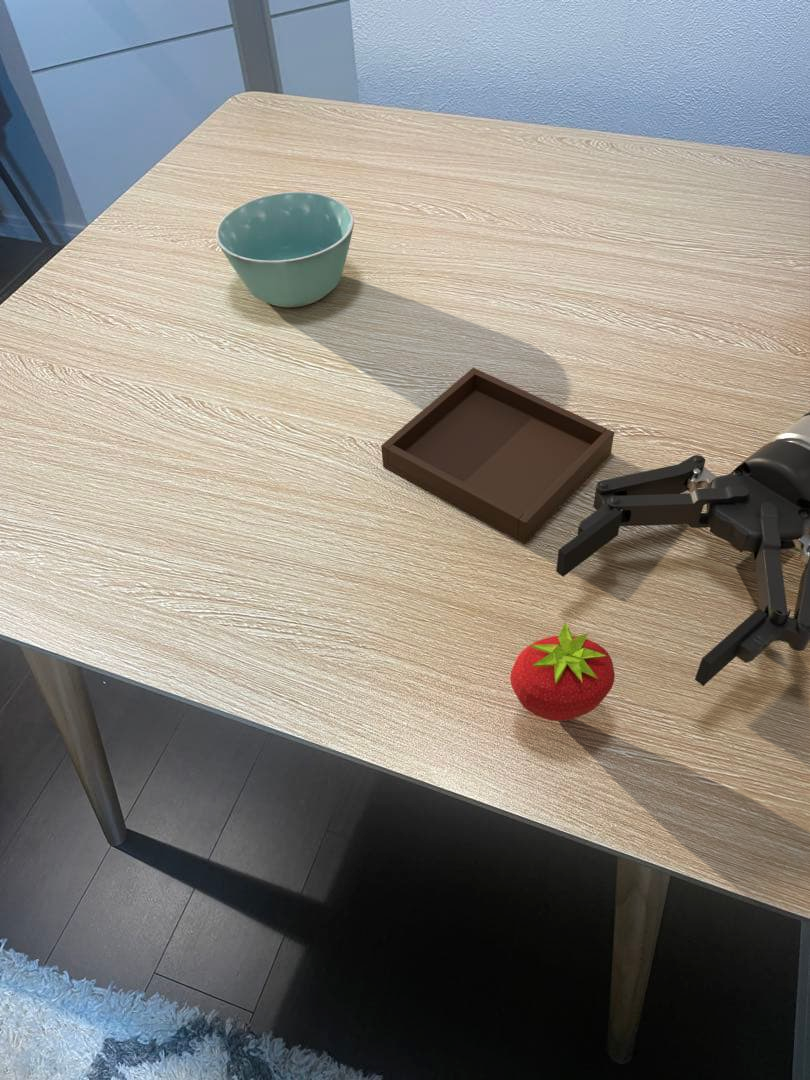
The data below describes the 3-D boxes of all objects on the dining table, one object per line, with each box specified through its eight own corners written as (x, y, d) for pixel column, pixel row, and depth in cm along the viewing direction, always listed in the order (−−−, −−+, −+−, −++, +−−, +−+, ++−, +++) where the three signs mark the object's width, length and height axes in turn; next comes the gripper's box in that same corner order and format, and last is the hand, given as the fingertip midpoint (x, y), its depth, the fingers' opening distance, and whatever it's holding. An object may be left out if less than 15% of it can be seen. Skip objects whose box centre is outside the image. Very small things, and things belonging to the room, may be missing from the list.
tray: (611, 453, 88) (614, 431, 86) (524, 544, 81) (526, 523, 79) (473, 388, 96) (473, 367, 94) (382, 466, 89) (380, 445, 86)
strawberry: (499, 689, 71) (503, 612, 64) (593, 674, 72) (608, 595, 64) (517, 757, 67) (524, 683, 60) (616, 740, 68) (635, 664, 61)
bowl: (204, 287, 111) (189, 224, 105) (307, 237, 117) (299, 176, 111) (279, 343, 103) (267, 278, 96) (386, 286, 109) (381, 223, 103)
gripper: (920, 591, 73) (758, 752, 64) (670, 437, 86) (508, 553, 77) (958, 528, 67) (786, 695, 59) (684, 373, 80) (511, 491, 72)
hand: (627, 615), depth 68 cm, fingers open, 13 cm apart
